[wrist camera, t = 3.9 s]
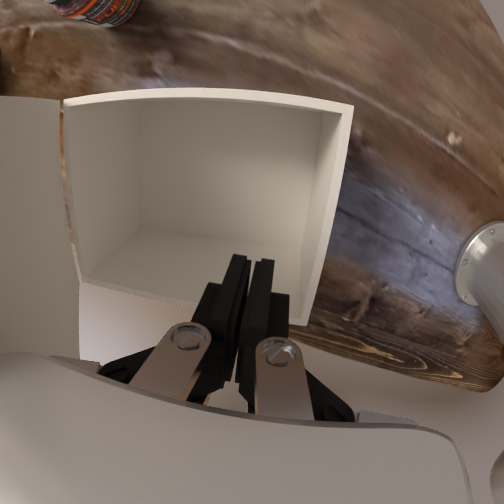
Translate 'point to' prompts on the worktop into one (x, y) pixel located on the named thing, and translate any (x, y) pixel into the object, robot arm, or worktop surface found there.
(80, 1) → the supplement bottle
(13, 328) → the lid flap
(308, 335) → the worktop surface
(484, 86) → the worktop surface
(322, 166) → the carton
